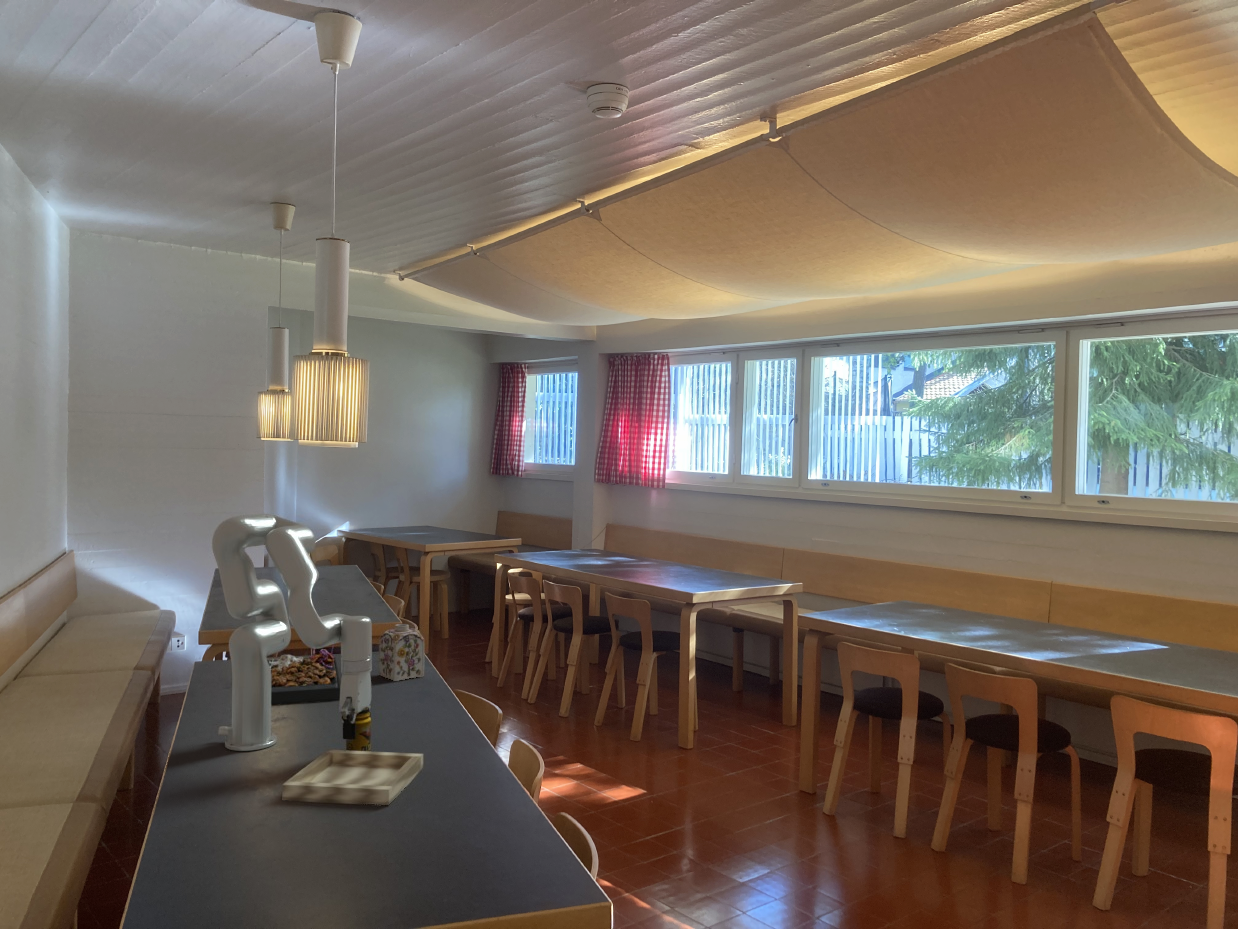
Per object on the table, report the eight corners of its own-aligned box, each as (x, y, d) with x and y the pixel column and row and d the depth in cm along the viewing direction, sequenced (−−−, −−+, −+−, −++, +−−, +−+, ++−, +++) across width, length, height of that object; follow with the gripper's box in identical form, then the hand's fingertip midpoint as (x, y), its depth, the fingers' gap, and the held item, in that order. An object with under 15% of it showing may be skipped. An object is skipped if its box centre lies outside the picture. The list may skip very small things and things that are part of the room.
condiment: (375, 757, 224) (376, 709, 224) (342, 762, 219) (342, 714, 219) (366, 749, 230) (367, 702, 230) (333, 754, 226) (334, 707, 226)
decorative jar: (377, 676, 308) (378, 624, 308) (407, 671, 316) (408, 620, 316) (394, 682, 300) (395, 629, 300) (425, 677, 308) (425, 625, 308)
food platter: (262, 674, 311) (262, 645, 311) (335, 669, 319) (336, 641, 319) (256, 708, 268) (256, 674, 268) (341, 702, 277) (341, 669, 277)
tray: (282, 800, 194) (282, 784, 194) (327, 763, 218) (328, 749, 218) (388, 805, 192) (388, 789, 192) (423, 768, 216) (423, 754, 216)
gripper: (355, 658, 234) (355, 723, 234) (328, 673, 217) (328, 743, 216) (383, 658, 233) (383, 723, 233) (357, 673, 216) (358, 744, 216)
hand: (357, 733), depth 225 cm, fingers open, 9 cm apart
